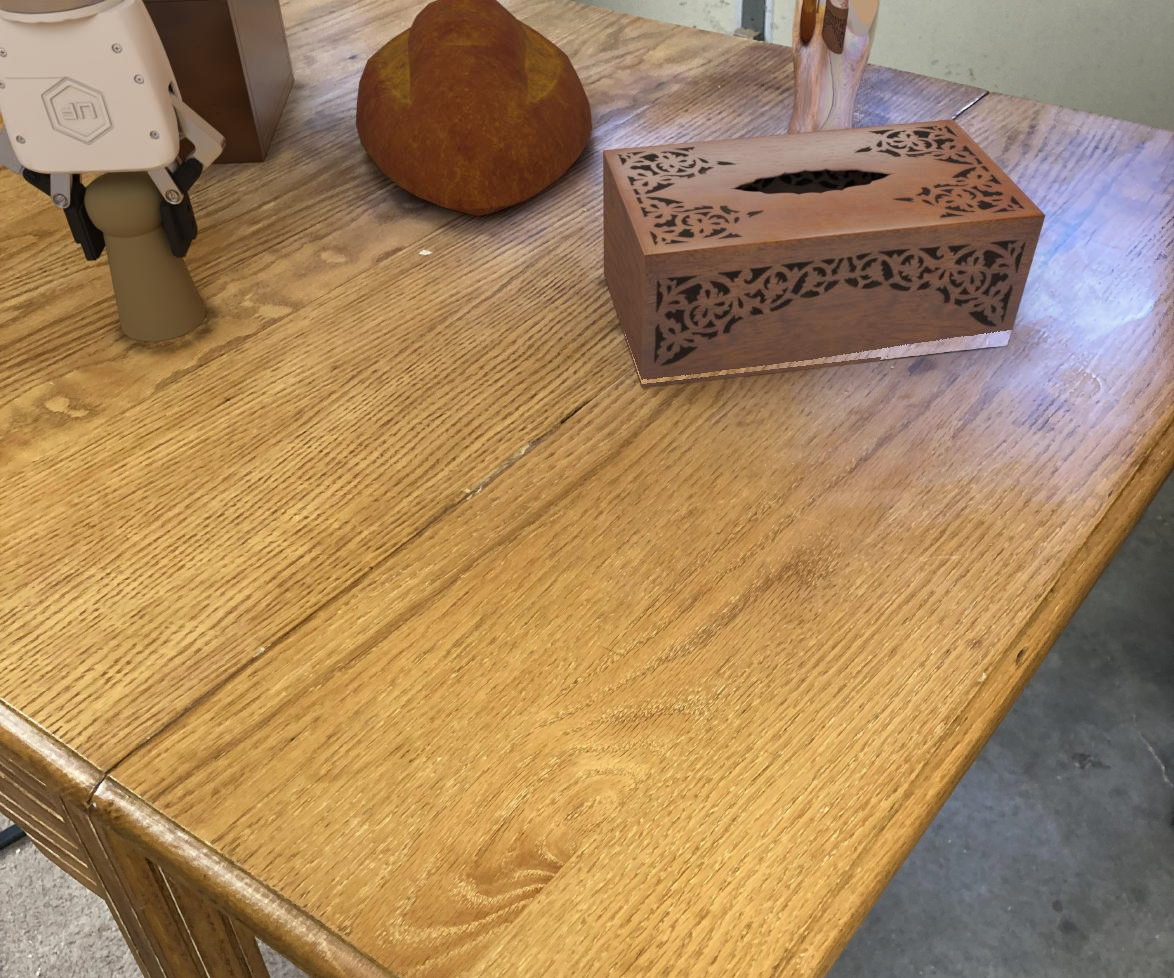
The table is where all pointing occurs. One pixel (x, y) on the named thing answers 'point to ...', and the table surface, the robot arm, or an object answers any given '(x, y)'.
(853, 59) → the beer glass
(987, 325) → the tissue box cover
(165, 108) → the robot arm
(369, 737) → the table surface
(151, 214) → the cork
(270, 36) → the bronze square pillar
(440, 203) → the bread
